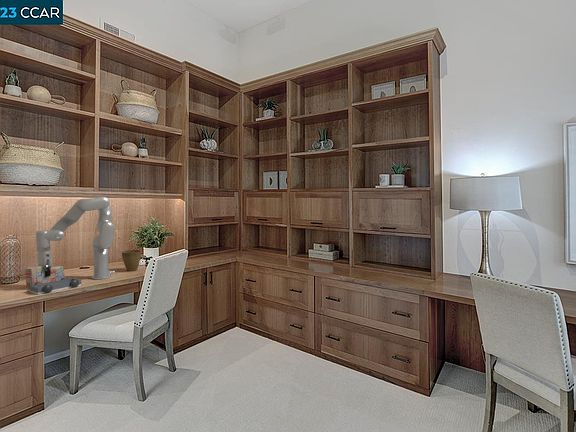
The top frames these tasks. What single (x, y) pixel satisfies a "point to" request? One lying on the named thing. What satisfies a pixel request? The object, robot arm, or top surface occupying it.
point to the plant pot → (131, 259)
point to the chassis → (54, 285)
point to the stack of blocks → (43, 274)
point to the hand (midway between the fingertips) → (44, 275)
